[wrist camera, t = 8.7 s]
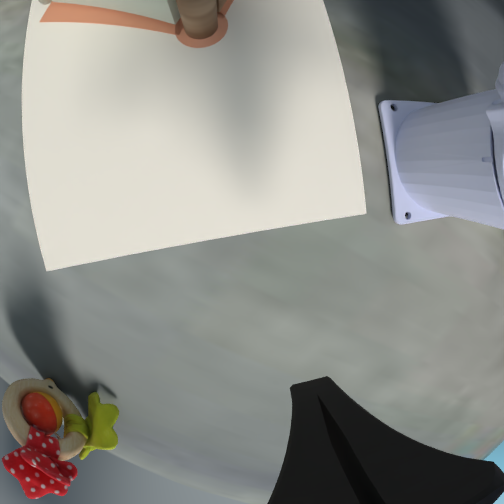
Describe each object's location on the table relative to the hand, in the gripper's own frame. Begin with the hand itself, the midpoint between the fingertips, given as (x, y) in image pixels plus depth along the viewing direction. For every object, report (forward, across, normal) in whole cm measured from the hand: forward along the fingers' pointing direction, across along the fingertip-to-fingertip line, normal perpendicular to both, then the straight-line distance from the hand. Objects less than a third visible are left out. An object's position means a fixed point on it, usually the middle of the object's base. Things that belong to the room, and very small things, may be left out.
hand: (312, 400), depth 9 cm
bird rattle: (+10, +18, +6) cm, 21 cm away
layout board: (+9, +4, -18) cm, 20 cm away
